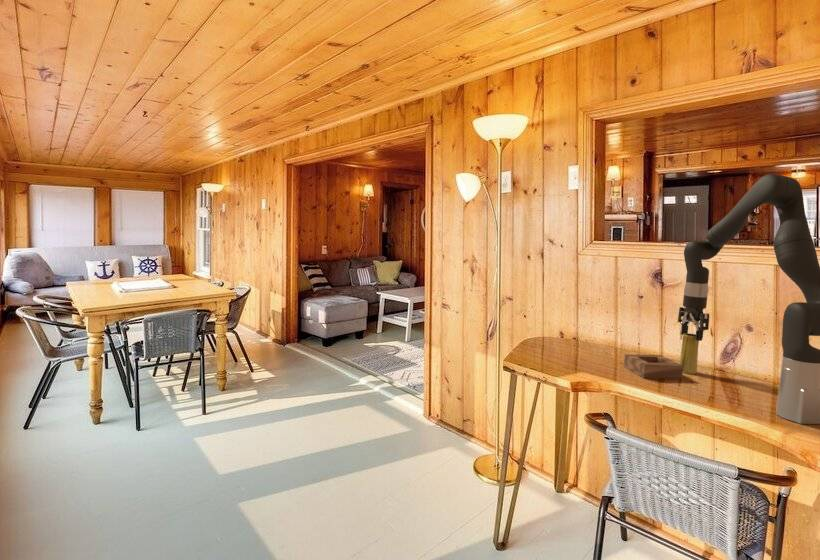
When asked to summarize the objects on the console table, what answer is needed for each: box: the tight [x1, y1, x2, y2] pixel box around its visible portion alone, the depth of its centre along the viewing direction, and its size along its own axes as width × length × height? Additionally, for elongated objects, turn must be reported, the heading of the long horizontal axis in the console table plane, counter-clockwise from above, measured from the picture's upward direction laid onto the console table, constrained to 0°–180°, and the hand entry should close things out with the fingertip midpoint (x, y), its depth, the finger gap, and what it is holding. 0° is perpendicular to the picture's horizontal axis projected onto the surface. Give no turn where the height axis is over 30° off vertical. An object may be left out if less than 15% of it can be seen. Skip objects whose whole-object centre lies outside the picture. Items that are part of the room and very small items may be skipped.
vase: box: [679, 332, 700, 375], centre depth 176 cm, size 6×6×14 cm
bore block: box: [623, 353, 683, 380], centre depth 174 cm, size 14×14×5 cm
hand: (691, 337), depth 176 cm, fingers open, 8 cm apart
